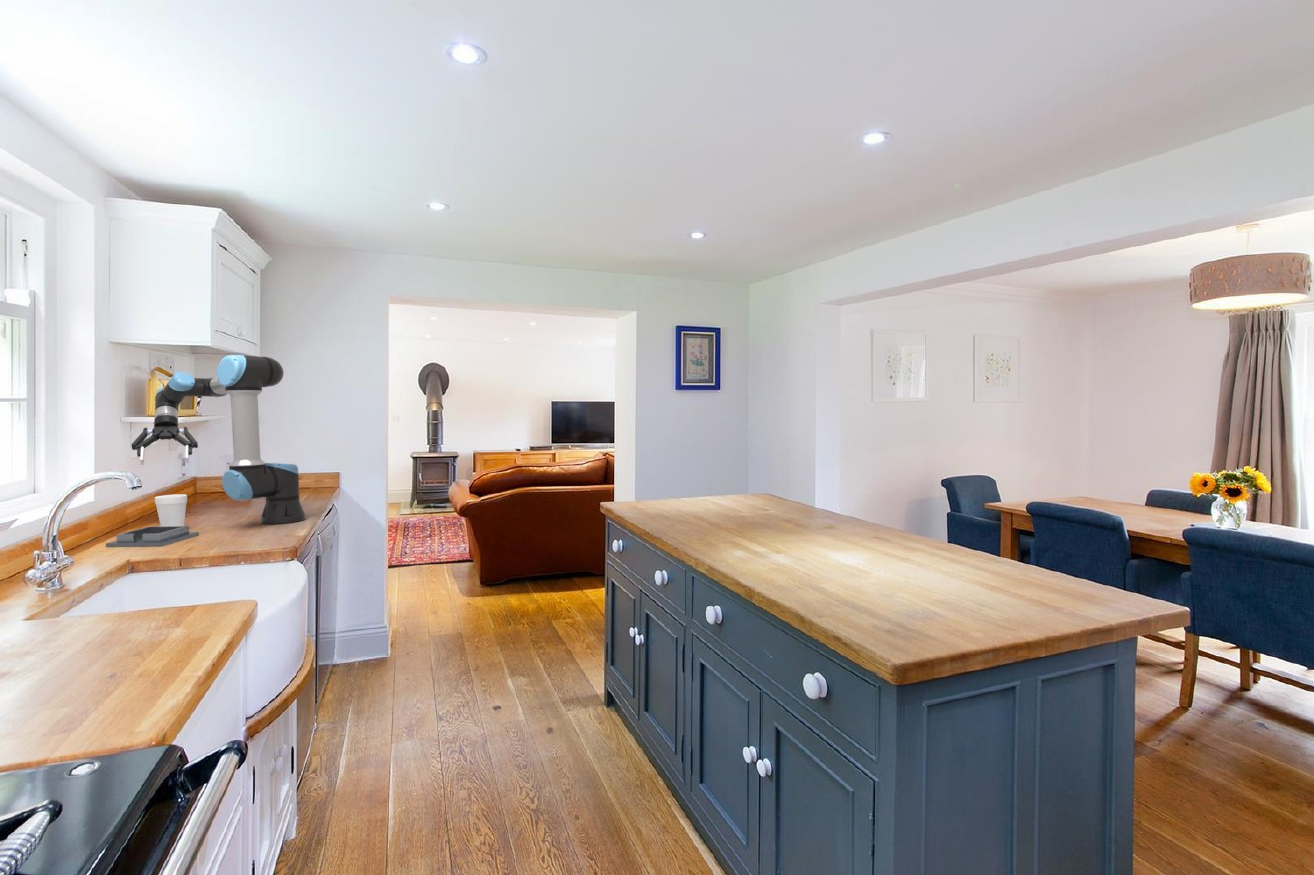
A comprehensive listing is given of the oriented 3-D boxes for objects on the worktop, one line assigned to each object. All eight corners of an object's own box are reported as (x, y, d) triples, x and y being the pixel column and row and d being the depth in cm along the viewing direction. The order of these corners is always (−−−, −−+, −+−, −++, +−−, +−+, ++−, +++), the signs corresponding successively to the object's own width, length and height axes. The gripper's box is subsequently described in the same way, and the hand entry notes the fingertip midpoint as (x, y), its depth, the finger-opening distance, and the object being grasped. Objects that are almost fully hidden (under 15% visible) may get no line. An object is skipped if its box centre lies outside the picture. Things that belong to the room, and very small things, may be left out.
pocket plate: (147, 535, 232) (147, 525, 232) (198, 535, 232) (198, 524, 232) (105, 547, 214) (105, 535, 214) (161, 546, 214) (160, 535, 214)
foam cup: (194, 529, 243) (192, 494, 242) (168, 534, 234) (167, 498, 233) (176, 528, 246) (174, 493, 245) (150, 532, 237) (148, 497, 236)
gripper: (205, 426, 266) (205, 465, 255) (127, 427, 253) (123, 469, 241) (204, 413, 262) (204, 453, 250) (124, 414, 248) (120, 456, 236)
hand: (164, 461), depth 245 cm, fingers open, 13 cm apart
